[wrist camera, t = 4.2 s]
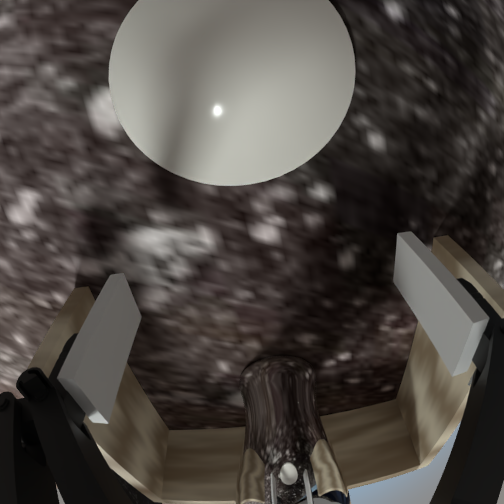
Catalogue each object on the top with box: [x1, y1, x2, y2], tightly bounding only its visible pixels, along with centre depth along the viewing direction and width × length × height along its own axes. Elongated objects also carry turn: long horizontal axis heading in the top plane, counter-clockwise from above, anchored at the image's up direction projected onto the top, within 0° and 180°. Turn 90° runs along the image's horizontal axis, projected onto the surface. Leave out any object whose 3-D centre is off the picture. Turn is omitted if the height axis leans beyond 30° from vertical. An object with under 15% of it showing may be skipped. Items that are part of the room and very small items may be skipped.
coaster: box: [109, 0, 355, 186], centre depth 13 cm, size 12×12×1 cm
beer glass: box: [235, 356, 351, 504], centre depth 18 cm, size 7×7×15 cm
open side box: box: [27, 235, 504, 504], centre depth 20 cm, size 19×25×8 cm
